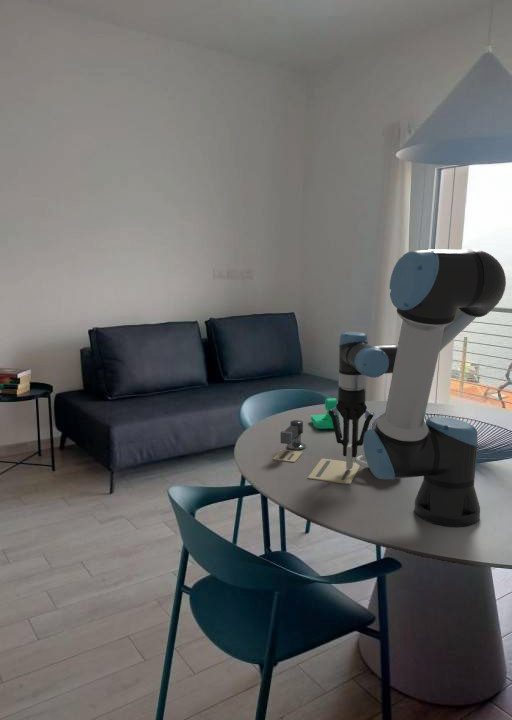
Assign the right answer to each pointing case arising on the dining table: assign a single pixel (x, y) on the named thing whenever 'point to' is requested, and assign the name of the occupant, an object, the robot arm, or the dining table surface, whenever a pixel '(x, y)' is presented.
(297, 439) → the grey mushroom knob
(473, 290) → the robot arm
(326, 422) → the camera mount
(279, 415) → the dining table surface
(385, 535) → the dining table surface
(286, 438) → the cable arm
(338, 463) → the label card
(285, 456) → the label card
